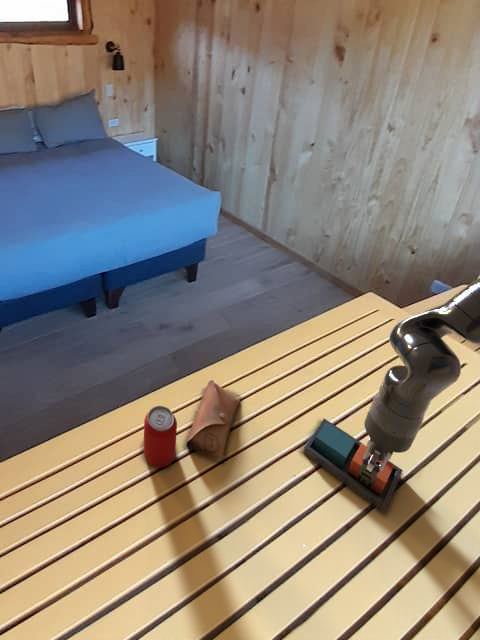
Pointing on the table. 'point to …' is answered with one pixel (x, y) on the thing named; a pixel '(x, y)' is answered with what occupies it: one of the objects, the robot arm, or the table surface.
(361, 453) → the loose pad
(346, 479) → the frame
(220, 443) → the sunglasses case
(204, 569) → the table surface
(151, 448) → the beverage can
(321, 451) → the pad
